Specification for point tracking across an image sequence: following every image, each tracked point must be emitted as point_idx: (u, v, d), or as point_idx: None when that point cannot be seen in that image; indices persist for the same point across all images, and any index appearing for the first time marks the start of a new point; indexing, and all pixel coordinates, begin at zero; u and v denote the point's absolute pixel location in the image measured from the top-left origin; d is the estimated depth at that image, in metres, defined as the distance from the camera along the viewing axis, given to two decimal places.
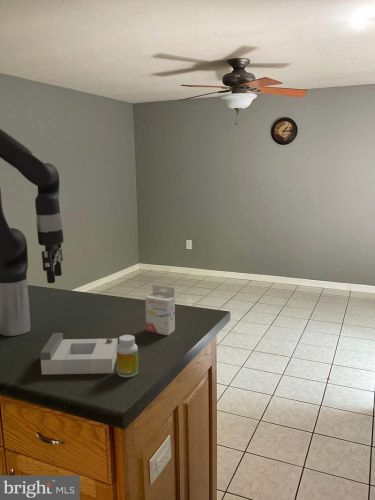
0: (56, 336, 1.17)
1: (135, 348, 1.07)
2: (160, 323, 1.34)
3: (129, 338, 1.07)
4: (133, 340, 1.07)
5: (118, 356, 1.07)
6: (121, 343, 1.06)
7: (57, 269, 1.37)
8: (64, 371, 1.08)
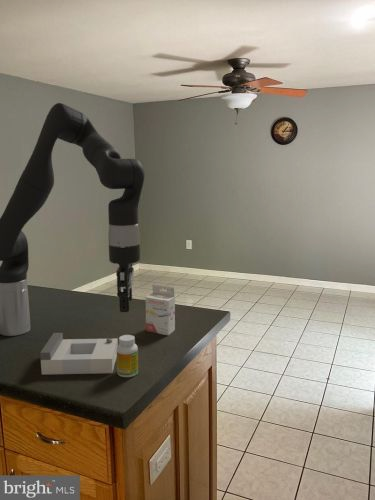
0: (56, 336, 1.17)
1: (135, 348, 1.07)
2: (160, 323, 1.34)
3: (129, 338, 1.07)
4: (133, 340, 1.07)
5: (118, 356, 1.07)
6: (121, 343, 1.06)
7: None
8: (64, 371, 1.08)
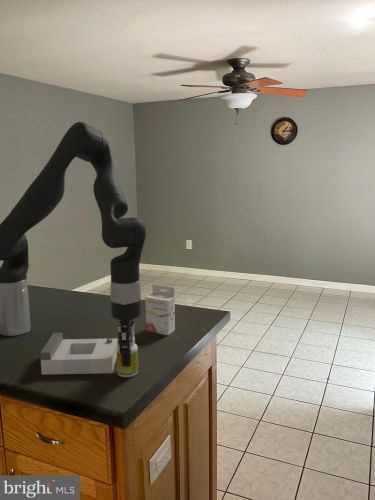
0: (56, 336, 1.17)
1: (135, 348, 1.07)
2: (160, 323, 1.34)
3: None
4: (133, 340, 1.07)
5: (118, 356, 1.07)
6: None
7: None
8: (64, 371, 1.08)
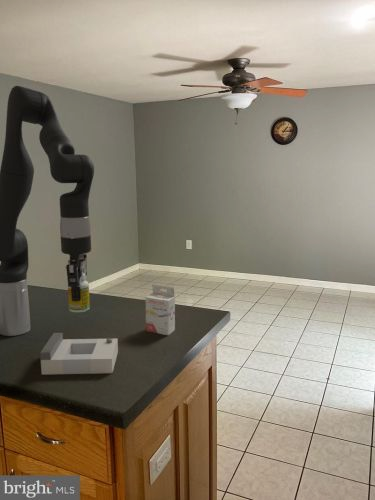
0: (56, 336, 1.17)
1: (86, 284, 1.10)
2: (160, 323, 1.34)
3: None
4: (83, 276, 1.10)
5: (69, 291, 1.09)
6: None
7: None
8: (64, 371, 1.08)
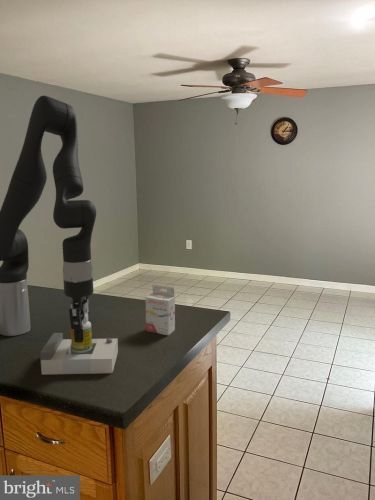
0: (56, 336, 1.17)
1: (88, 325, 1.12)
2: (160, 323, 1.34)
3: None
4: (86, 317, 1.12)
5: (72, 332, 1.12)
6: None
7: None
8: (64, 371, 1.08)
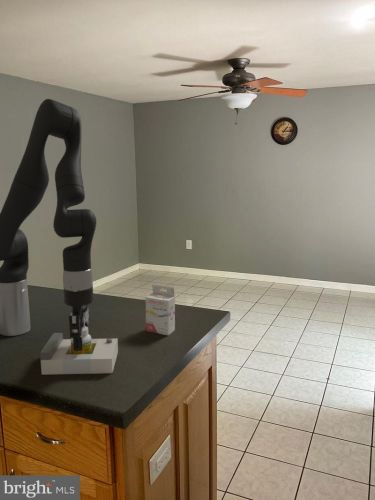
0: (56, 336, 1.17)
1: (88, 338, 1.13)
2: (160, 323, 1.34)
3: (83, 329, 1.13)
4: (86, 331, 1.13)
5: (72, 346, 1.12)
6: None
7: None
8: (64, 371, 1.08)
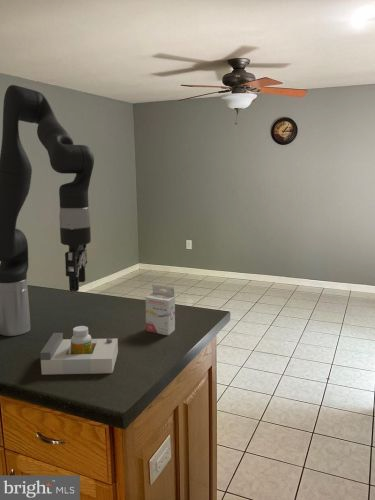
0: (56, 336, 1.17)
1: (88, 338, 1.13)
2: (160, 323, 1.34)
3: (83, 329, 1.13)
4: (86, 331, 1.13)
5: (72, 346, 1.12)
6: (74, 333, 1.12)
7: (80, 274, 1.14)
8: (64, 371, 1.08)
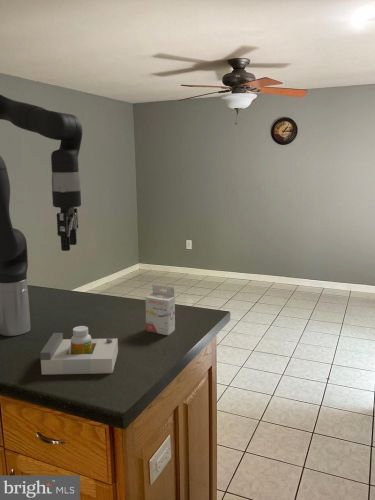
0: (56, 336, 1.17)
1: (88, 338, 1.13)
2: (160, 323, 1.34)
3: (83, 329, 1.13)
4: (86, 331, 1.13)
5: (72, 346, 1.12)
6: (74, 333, 1.12)
7: (72, 237, 1.22)
8: (64, 371, 1.08)
